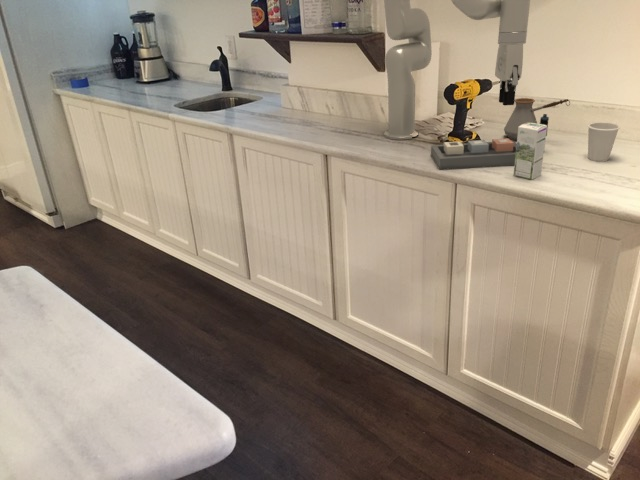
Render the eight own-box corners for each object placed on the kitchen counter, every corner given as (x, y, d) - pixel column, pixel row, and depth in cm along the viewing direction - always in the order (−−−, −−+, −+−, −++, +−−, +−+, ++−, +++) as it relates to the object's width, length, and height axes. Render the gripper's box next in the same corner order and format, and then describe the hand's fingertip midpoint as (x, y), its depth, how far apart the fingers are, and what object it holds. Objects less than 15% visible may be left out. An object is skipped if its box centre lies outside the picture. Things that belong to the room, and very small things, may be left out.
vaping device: (543, 153, 169) (548, 115, 164) (526, 151, 172) (530, 114, 167) (545, 151, 171) (550, 113, 166) (529, 149, 174) (533, 112, 169)
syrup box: (541, 174, 153) (548, 124, 147) (531, 180, 149) (537, 129, 143) (523, 170, 157) (528, 121, 150) (512, 176, 153) (517, 125, 147)
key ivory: (443, 149, 169) (443, 141, 168) (459, 148, 169) (460, 140, 168) (446, 154, 164) (447, 146, 163) (463, 153, 164) (463, 145, 163)
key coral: (491, 146, 168) (492, 138, 167) (507, 145, 168) (508, 137, 167) (496, 151, 164) (497, 143, 163) (512, 150, 164) (513, 142, 163)
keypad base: (431, 155, 174) (431, 145, 173) (511, 151, 174) (512, 140, 172) (439, 169, 162) (440, 158, 160) (526, 164, 161) (528, 153, 160)
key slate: (467, 148, 169) (468, 140, 167) (483, 147, 168) (484, 139, 167) (471, 153, 164) (472, 144, 163) (488, 152, 164) (488, 143, 163)
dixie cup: (604, 164, 157) (610, 131, 153) (577, 158, 163) (582, 126, 159) (619, 158, 161) (625, 125, 157) (592, 152, 167) (597, 120, 163)
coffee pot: (496, 138, 187) (500, 94, 181) (515, 131, 194) (520, 88, 187) (553, 150, 172) (559, 102, 165) (572, 142, 178) (579, 96, 171)
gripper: (490, 35, 159) (485, 98, 167) (507, 42, 145) (501, 110, 153) (516, 34, 159) (510, 97, 167) (536, 40, 144) (528, 109, 153)
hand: (506, 103), depth 160 cm, fingers open, 3 cm apart
